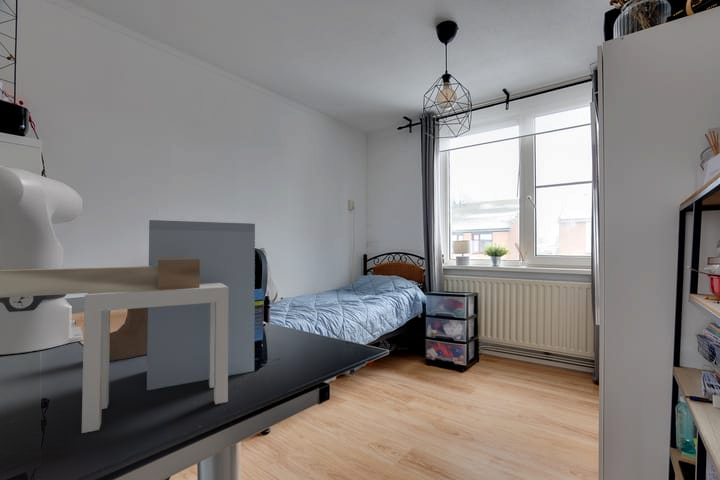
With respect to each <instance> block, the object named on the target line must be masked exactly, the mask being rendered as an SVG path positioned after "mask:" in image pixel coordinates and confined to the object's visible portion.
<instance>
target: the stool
mask: <svg viewBox="0 0 720 480" xmlns="http://www.w3.org/2000/svg"><path fill="white" fill-rule="evenodd" d="M228 296H229V287H227V286H226V285H224V284H222V283H205V284H200V288H185V289H167V290H158V289H154V290H135V291H116V292H97V293H85V294H84V302H83V303H84V306H83V307H84V310H83V348H82V349H83V353H82V354H83V356H82V357H83V358H82V359H83V360H82V396H81V397H82V400H81V401H82V404H81V405H82V406H81V407H82V408H81V409H82V410H81V434H85V433H90V432H95V431H99V430H100V429H101V425H102V410H105V409H108V406H109V399H110V398H109V395H110V362H109V355H110V333H111V311H118V310H120V311H121V310H127V309H133V308H147V307H160V306H173V305H186V304H200V303H210V308H209V379H208V387H209V389H213V401H214V405H218V404H224V403H228V402H229V376H228Z"/></svg>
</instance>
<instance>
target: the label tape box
mask: <svg viewBox="0 0 720 480" xmlns="http://www.w3.org/2000/svg"><path fill="white" fill-rule="evenodd" d="M264 298H265V297H264V288H258V289H257V288H256V289H255V323H254V343H255V342H258V341H263V340H264V306H265V304H264V302H265V299H264Z"/></svg>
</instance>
